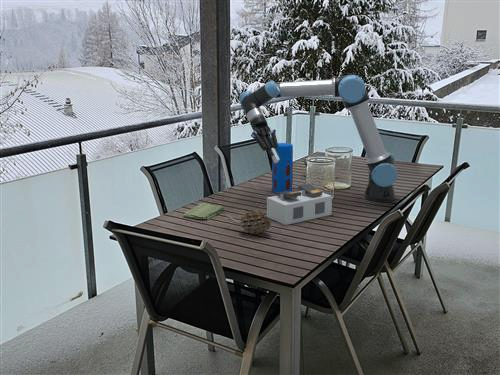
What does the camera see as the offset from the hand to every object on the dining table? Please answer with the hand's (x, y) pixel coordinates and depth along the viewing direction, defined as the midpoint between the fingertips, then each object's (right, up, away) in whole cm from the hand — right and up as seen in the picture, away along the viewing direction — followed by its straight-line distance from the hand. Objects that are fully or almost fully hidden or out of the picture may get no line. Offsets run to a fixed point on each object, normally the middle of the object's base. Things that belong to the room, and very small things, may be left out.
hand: (277, 161), depth 228 cm
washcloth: (-33, -25, +6) cm, 42 cm away
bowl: (+29, -6, +72) cm, 78 cm away
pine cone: (-14, -30, -18) cm, 38 cm away
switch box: (+10, -25, +2) cm, 27 cm away
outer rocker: (+5, -15, -4) cm, 16 cm away
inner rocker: (+15, -13, +2) cm, 20 cm away
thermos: (+5, -14, +43) cm, 45 cm away
